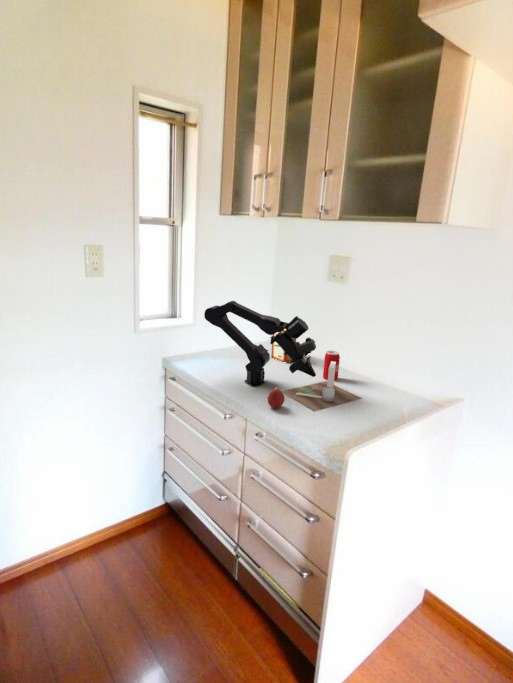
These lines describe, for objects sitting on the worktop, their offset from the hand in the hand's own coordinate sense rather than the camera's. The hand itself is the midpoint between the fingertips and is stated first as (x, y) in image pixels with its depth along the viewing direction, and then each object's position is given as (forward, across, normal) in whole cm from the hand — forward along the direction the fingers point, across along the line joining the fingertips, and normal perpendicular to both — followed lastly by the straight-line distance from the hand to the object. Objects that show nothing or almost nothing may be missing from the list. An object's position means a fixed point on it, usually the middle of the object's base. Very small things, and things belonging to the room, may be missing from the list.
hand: (315, 376), depth 158 cm
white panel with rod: (+5, -3, +3) cm, 7 cm away
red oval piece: (-3, -20, +12) cm, 24 cm away
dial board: (+7, -3, +3) cm, 8 cm away
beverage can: (+8, +17, +2) cm, 19 cm away
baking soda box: (-9, +36, +19) cm, 42 cm away
